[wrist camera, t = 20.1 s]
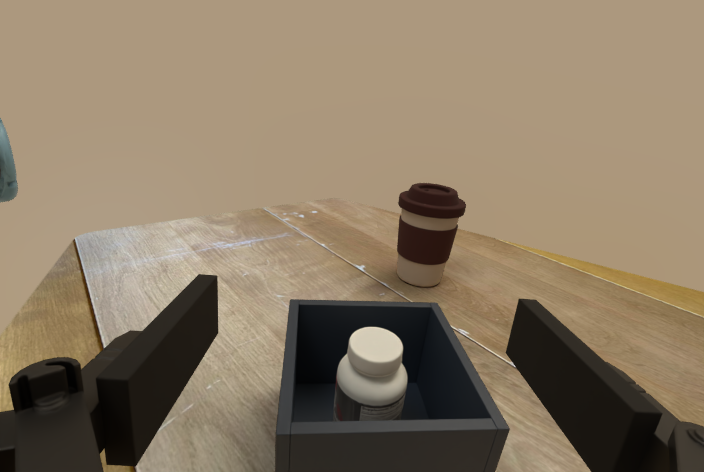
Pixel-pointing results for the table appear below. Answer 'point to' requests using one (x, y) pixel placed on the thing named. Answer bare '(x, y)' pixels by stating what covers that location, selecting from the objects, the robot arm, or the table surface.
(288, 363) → the waste bin
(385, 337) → the pill bottle
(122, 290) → the table surface
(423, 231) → the coffee cup
